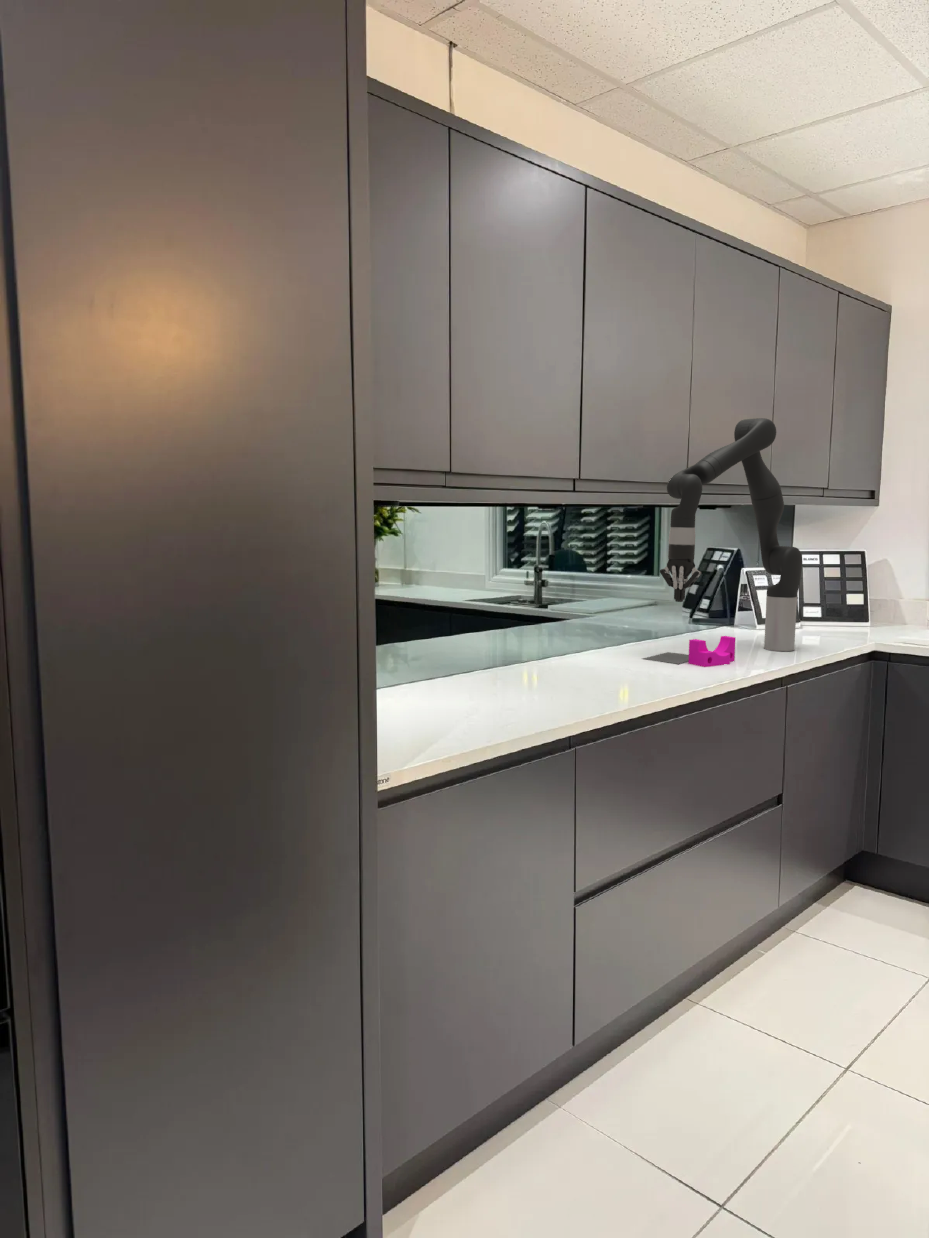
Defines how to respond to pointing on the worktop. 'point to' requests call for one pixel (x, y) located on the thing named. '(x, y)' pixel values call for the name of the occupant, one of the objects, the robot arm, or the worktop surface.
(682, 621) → the worktop surface
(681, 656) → the rubber mat
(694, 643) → the magenta pipe clamp
